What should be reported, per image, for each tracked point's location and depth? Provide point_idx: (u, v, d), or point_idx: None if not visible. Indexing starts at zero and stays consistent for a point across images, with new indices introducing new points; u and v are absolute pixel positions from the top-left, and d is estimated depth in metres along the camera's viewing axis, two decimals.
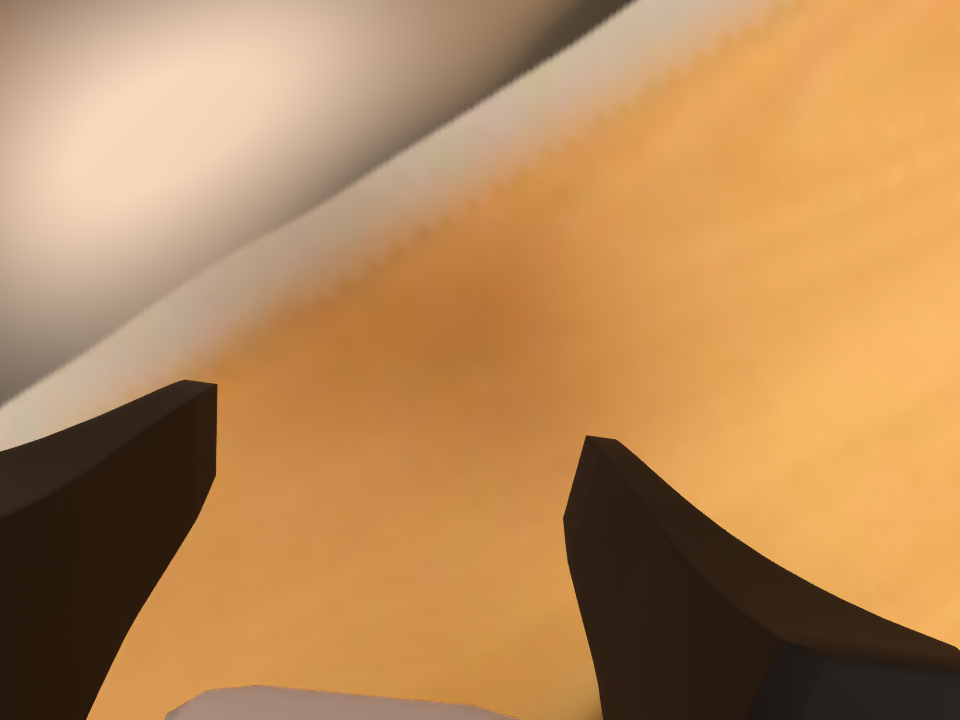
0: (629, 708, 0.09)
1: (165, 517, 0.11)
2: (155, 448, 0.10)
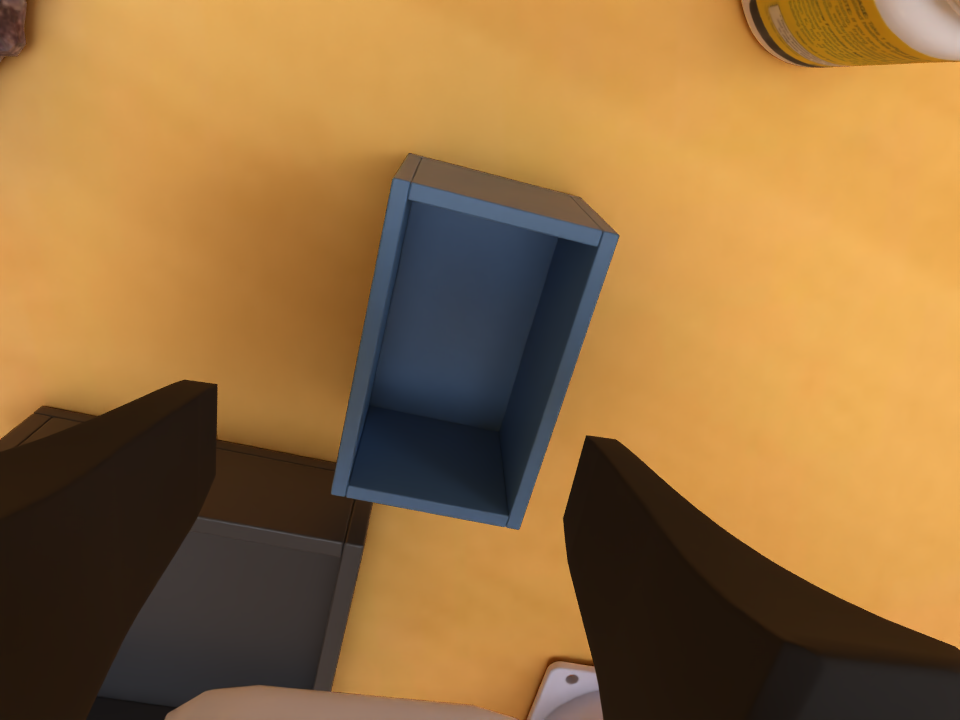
0: (629, 708, 0.09)
1: (165, 517, 0.11)
2: (155, 448, 0.10)
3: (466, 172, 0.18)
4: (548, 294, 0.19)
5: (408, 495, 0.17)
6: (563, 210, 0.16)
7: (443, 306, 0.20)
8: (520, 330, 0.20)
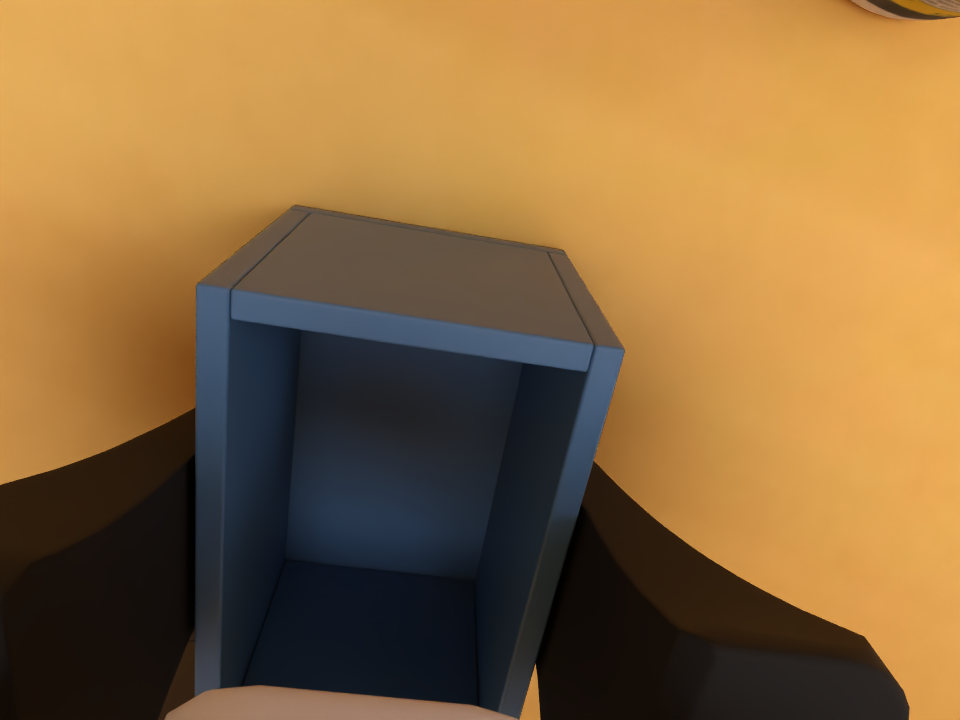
0: (560, 701, 0.09)
1: None
2: None
3: (377, 232, 0.11)
4: (524, 403, 0.12)
5: None
6: (527, 297, 0.09)
7: (372, 421, 0.14)
8: (490, 446, 0.14)
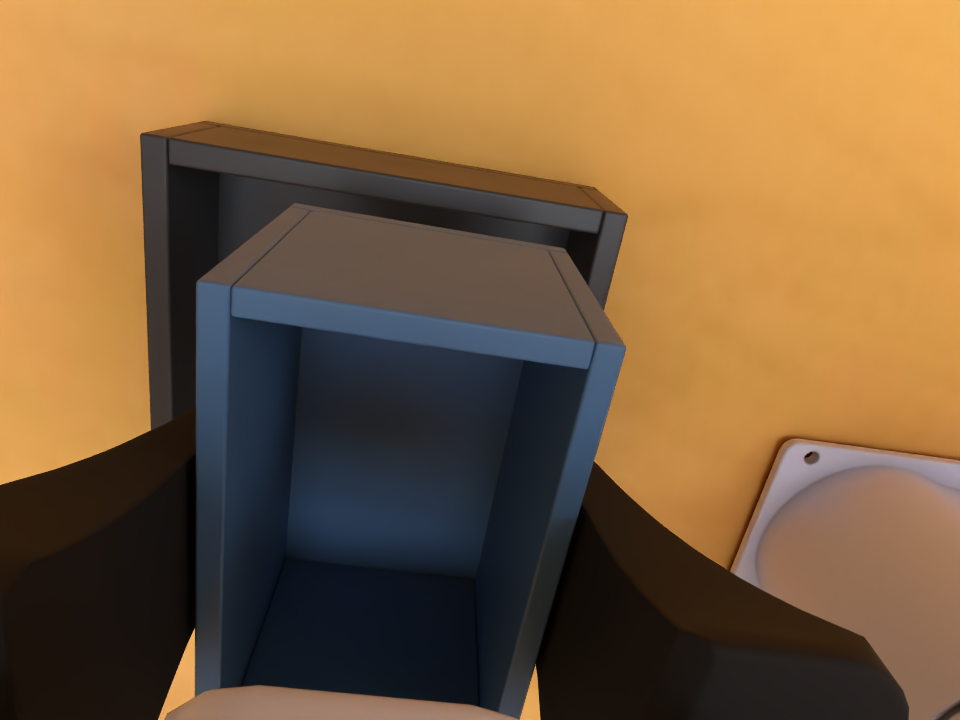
0: (560, 701, 0.09)
1: None
2: None
3: (378, 230, 0.11)
4: (524, 401, 0.12)
5: None
6: (528, 294, 0.09)
7: (373, 419, 0.14)
8: (490, 444, 0.14)
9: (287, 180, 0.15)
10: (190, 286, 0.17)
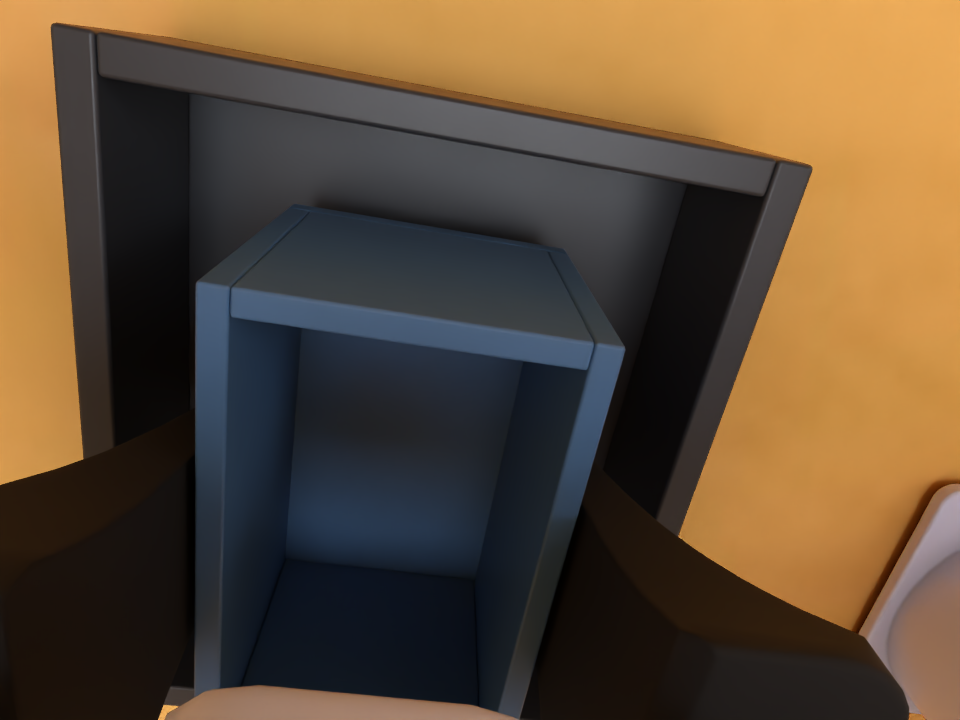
0: (560, 702, 0.09)
1: None
2: None
3: (377, 230, 0.11)
4: (524, 402, 0.12)
5: None
6: (527, 295, 0.09)
7: (372, 420, 0.14)
8: (490, 445, 0.14)
9: (287, 105, 0.09)
10: (144, 274, 0.12)
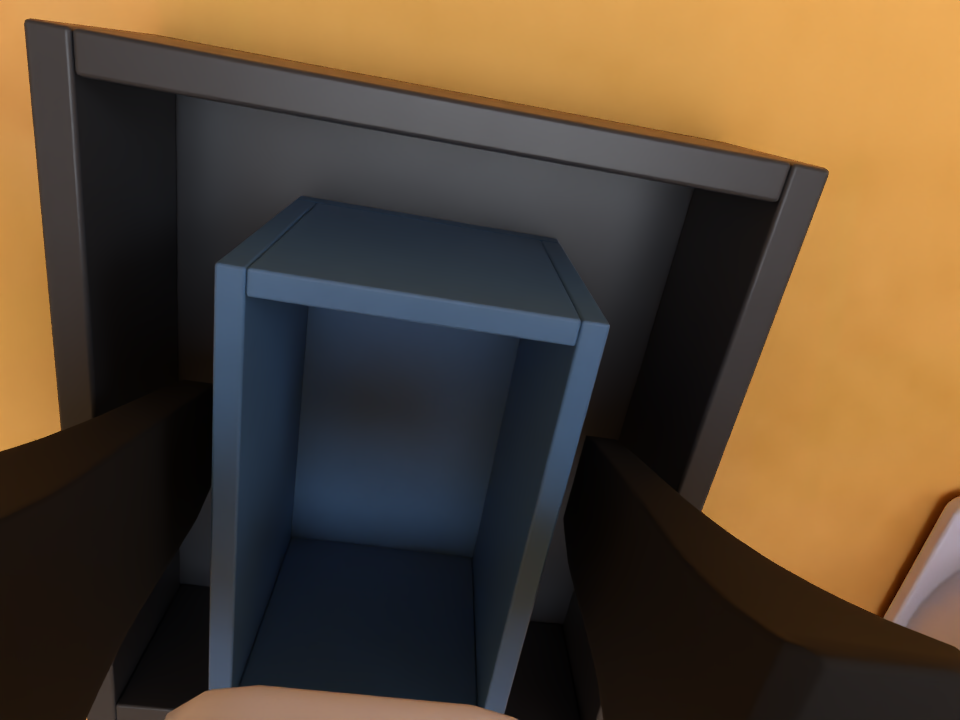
0: (629, 708, 0.09)
1: (165, 517, 0.11)
2: (155, 448, 0.10)
3: (380, 220, 0.12)
4: (518, 384, 0.13)
5: None
6: (520, 279, 0.10)
7: (375, 402, 0.14)
8: (487, 427, 0.15)
9: (276, 106, 0.09)
10: (129, 282, 0.11)
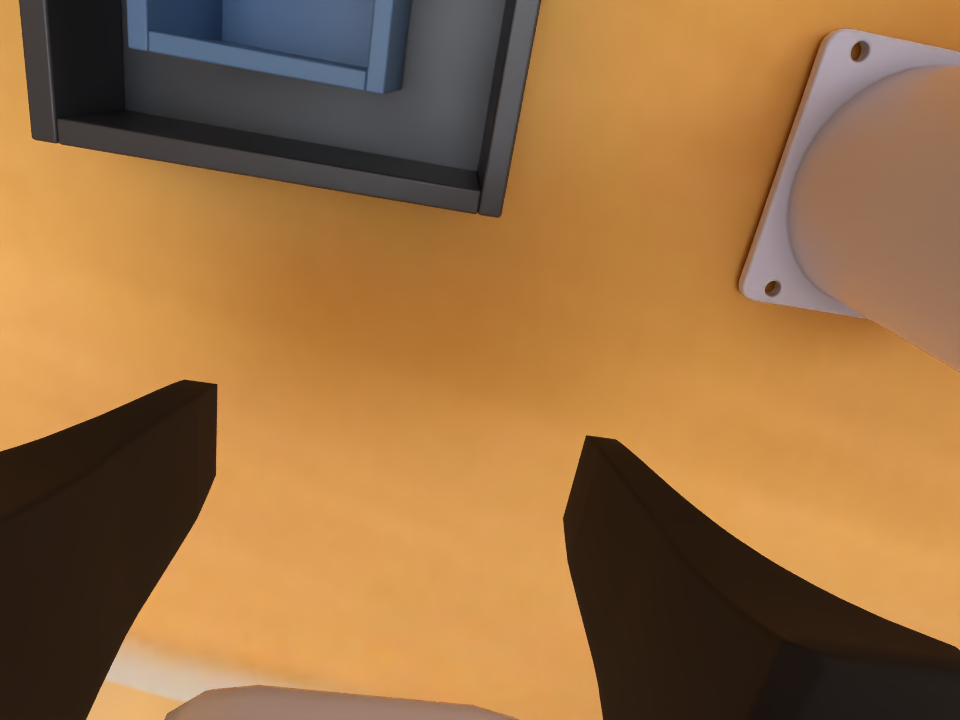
0: (629, 708, 0.09)
1: (165, 517, 0.11)
2: (155, 448, 0.10)
3: None
4: None
5: (230, 45, 0.13)
6: None
7: None
8: None
9: None
10: None
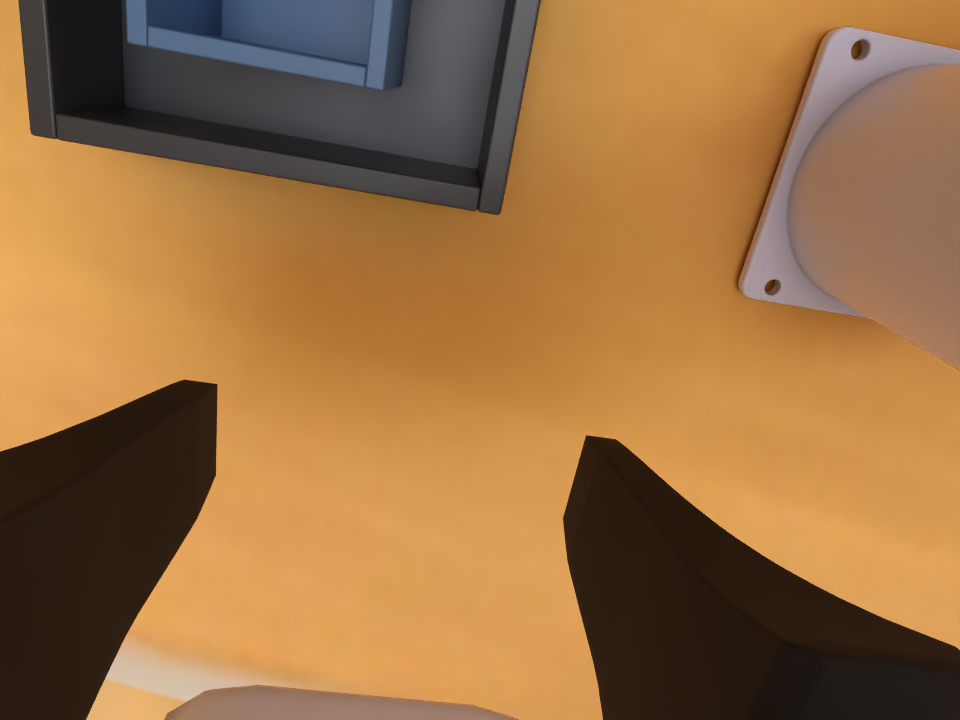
0: (629, 708, 0.09)
1: (165, 517, 0.11)
2: (155, 448, 0.10)
3: None
4: None
5: (230, 41, 0.13)
6: None
7: None
8: None
9: None
10: None
